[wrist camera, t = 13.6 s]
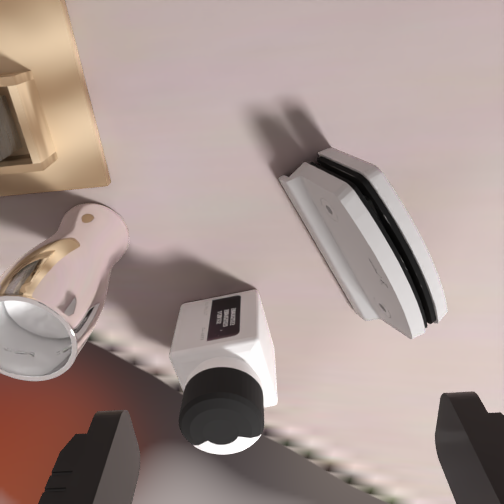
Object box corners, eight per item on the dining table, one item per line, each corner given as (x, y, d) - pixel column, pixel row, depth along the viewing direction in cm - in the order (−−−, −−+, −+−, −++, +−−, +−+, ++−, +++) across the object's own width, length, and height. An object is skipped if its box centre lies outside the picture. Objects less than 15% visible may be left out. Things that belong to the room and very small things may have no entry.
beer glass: (150, 231, 42) (102, 337, 29) (106, 281, 44) (44, 400, 31) (82, 181, 40) (-3, 271, 26) (41, 237, 42) (-57, 345, 29)
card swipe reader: (275, 174, 39) (328, 196, 30) (321, 142, 40) (386, 155, 31) (357, 316, 46) (421, 369, 37) (396, 288, 46) (467, 333, 37)
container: (179, 302, 45) (155, 404, 34) (258, 286, 45) (259, 386, 33) (202, 362, 49) (186, 473, 37) (275, 349, 48) (281, 458, 37)
